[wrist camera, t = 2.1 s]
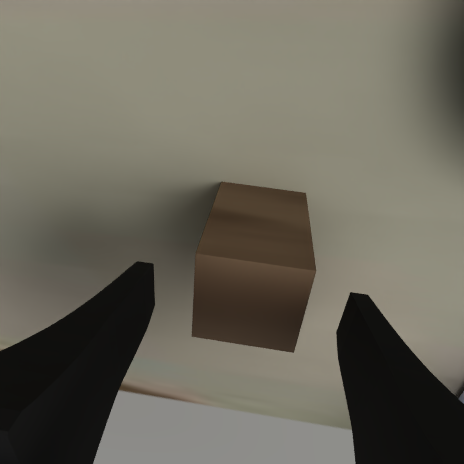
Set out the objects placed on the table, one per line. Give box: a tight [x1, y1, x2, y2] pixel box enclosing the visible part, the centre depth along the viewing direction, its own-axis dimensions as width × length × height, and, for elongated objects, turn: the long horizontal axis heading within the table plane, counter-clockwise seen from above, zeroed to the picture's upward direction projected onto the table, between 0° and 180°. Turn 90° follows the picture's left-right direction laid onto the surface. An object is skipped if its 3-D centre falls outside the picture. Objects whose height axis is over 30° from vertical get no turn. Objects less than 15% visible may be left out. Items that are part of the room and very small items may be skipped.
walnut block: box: [192, 182, 316, 353], centre depth 15 cm, size 4×4×6 cm
